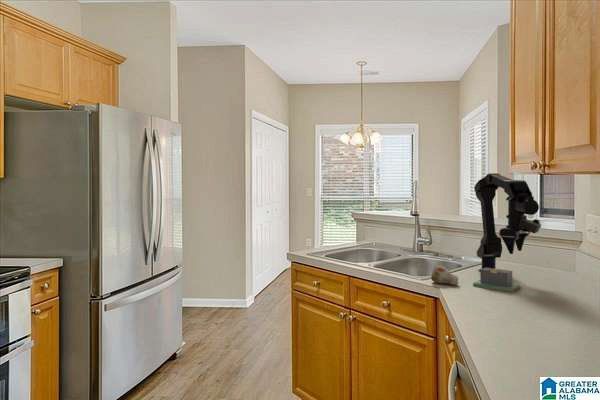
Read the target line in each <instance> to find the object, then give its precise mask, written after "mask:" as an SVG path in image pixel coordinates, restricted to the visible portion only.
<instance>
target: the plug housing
mask: <svg viewBox="0 0 600 400" xmlns="http://www.w3.org/2000/svg"><path fill="white" fill-rule="evenodd" d="M480 269H481V271H480V279H479V280H480V282H481V283H488V284H494V285H501V286H509V285H511V284H512V283H513V270H510V269H509V270H507V269H501V268H500V269H499V268H496V269H494V268H483V269H482V268H480Z"/></svg>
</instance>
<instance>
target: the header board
mask: <svg viewBox="0 0 600 400" xmlns="http://www.w3.org/2000/svg"><path fill="white" fill-rule="evenodd" d="M472 286H473V287H478V288H484V289H491V290H495V291H496V290H497V291H503V292H509V293H512V292H514V291H516V290H518V289H519V288H520V287H521V284H519V283H514V282H512V284H511V285H509V286H501V285H494V284H488V283H481V282H480V279H479V280H476V281H474V282H473V283H472Z"/></svg>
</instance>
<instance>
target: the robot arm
mask: <svg viewBox="0 0 600 400" xmlns="http://www.w3.org/2000/svg"><path fill="white" fill-rule="evenodd" d="M499 188H501V189H503V192H504V193H505V194H507V195H508V196H507V197H506V198H505V201H507V202H508V206H507V207H508V209H507V215H505V216H506V218H507V225H506V227H503V228H501V229H500V230H499V232H498V233H499V234H497V233H496V224H495V216H494V215H495V214H494V213H495V212H494V202H493V201H494V199H495V197H496V194H497V193H496V191H497V190H498V189H499ZM474 193H475V196H476V199H478V201H479V202H480V211H481V220H482V230H483V235H482V238H481V239H480V245H479V247H478V249H477V250H476V256H477V257H478V258H480V259H481V268H480V269H478V272H481V269H483V268H494V269H497V268H496V266H497V265H496V262H497V259H496V258H501V256H502V252H503V244H502V242H504V245H505V247H506V248H507V251H508V252H509V254H510V255H513V254H514V251H515V245H516V249H517V251H518V252H519V251H520V252H521V251H522V249H523V247H524V244H525V243H524V242H525V241H526V238H527V237H528V236H530V235H531V233H532V234H536V233H539V230H540V229H542V224H541V222H540V221H541V220H540V219H536V218H535V219H533V220H531V219H530V220H529V219H528V217H527V215H529V216H533V215H536V214H537V213H538V212H539V209H540V205H539V203H538V201H536V200H535V199H534V196H533V193H532V190H531V189H530V187H529V184H528V183H527V181H525V180H521V179H518V180H517V179H512V178H509V177H506V176H504V175H501V174H500V173H497V172H496V173H494V172H493V173H491V172H490V173H487V174H486V175H485V176H484V177H483V178H481V179H479V180H478V181H477V182H476V184H475V185H474ZM498 235H499V236H500V237H499V236H498Z"/></svg>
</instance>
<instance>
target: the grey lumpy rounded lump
mask: <svg viewBox="0 0 600 400" xmlns="http://www.w3.org/2000/svg"><path fill="white" fill-rule="evenodd" d="M431 281H433V282H434V283H436V284H447V285H451V286H456V285H457V283H458V284H459V277H458V276H457V275H455V274H453V273H452V272H451V271H450V270H448V269H447V268H446V267H445V266H443V265H440V264H438V265H436V266H435V267H434V268H433V271H432V274H431Z"/></svg>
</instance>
